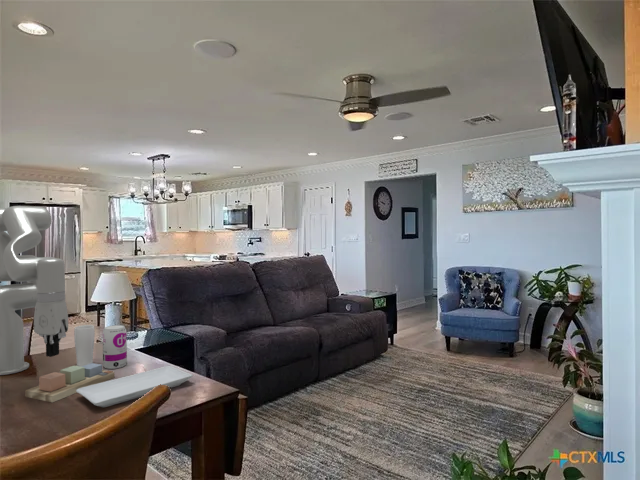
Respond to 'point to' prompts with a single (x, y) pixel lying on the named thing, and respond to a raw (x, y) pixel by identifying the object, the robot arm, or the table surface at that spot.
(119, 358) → the supplement can
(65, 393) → the keypad base
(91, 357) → the drinking glass
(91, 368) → the key slate
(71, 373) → the key sage
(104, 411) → the table surface
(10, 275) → the robot arm
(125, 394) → the tray
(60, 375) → the key terracotta
